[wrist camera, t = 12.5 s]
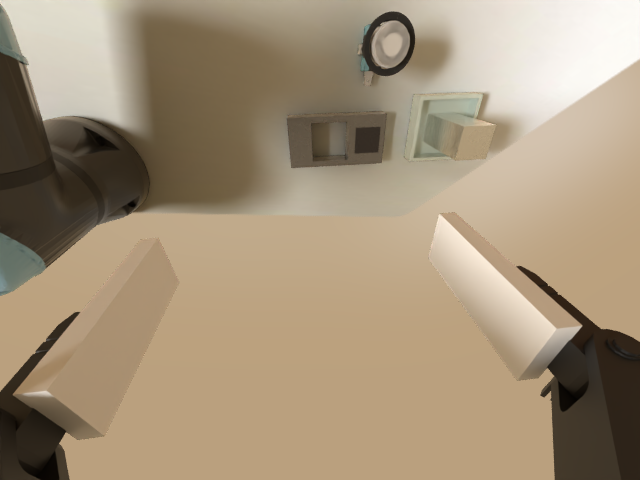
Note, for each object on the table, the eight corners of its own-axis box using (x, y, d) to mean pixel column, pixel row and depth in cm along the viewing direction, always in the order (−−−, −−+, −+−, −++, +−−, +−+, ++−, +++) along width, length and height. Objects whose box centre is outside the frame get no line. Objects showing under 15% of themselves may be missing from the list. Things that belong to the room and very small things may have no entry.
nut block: (422, 141, 41) (455, 160, 33) (427, 113, 39) (464, 126, 31) (447, 140, 41) (485, 158, 33) (453, 112, 39) (496, 124, 31)
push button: (383, 85, 37) (409, 91, 29) (346, 84, 36) (361, 89, 28) (392, 24, 33) (424, 11, 25) (350, 22, 33) (370, 8, 24)
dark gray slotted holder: (291, 162, 42) (291, 168, 40) (287, 115, 38) (286, 118, 36) (377, 158, 43) (381, 163, 40) (381, 111, 39) (386, 113, 36)
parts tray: (404, 156, 43) (409, 161, 41) (413, 94, 38) (420, 96, 36) (456, 154, 43) (465, 158, 41) (473, 92, 38) (483, 93, 36)
